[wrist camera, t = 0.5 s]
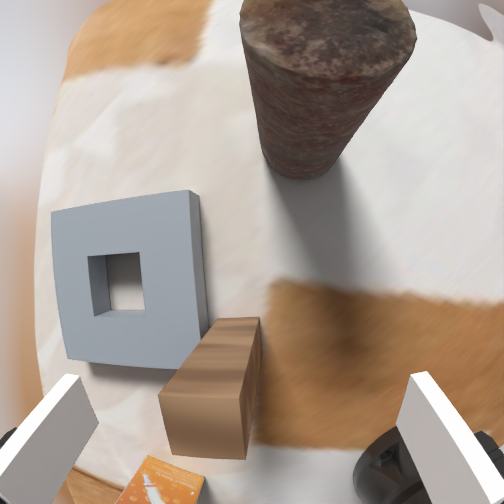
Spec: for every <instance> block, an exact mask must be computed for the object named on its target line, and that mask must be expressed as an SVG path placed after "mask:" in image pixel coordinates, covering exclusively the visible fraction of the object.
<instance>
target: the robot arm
mask: <svg viewBox="0 0 504 504" xmlns="http://www.w3.org/2000/svg"><path fill="white" fill-rule="evenodd" d="M98 424H99V422H98V420H97V418H96V415H95V413H94V411H93V408H92V406H91V404H90V401H89V399H88V396H87V394H86V391H85V389H84V386H83V384H82V381H81V378H80V376H76V375H71V374H65V375H64V376H63V377H62V379H61V380H60V381H59V382H58V383H57V384H56V385H55V386H54V387H53V388H52V390H51V391H50V392H49V393H48V394H47V395H46V396H45V397H44V399H43V400H42V401H41V402H40V403H39V404H38V406H37V407H36V408H35V409H34V410H33V411H32V412H31V413H30V415H29V416H28V417H27V418H26V419H25V421H24V422H23V423H22V424H21V425H20V426H19V427H18V428H16V427H15V428H13V429H12V430H11V431H9V432H7V433H6V434H5V435H4V436H3V437H2V438H1V440H0V504H52V502H53V500H54V498H55V496H56V495H57V493H58V491H59V490H60V488H61V486H62V484H63V483H64V481H65V479H66V477H67V476H68V474H69V472H70V470H71V469H72V467H73V465H74V464H75V462H76V460H77V459H78V457H79V455H80V454H81V452H82V450H83V449H84V447H85V445H86V444H87V442H88V440H89V439H90V437H91V435H92V434H93V432H94V430H95V429H96V427H97V425H98ZM498 448H499V447H498V445H497V444H496V443H495V441H494V440H493V439H492V437H490V436H489V435H487V434H486V433H484V432H483V431H480V432H477V433H475V434H473V433H472V432H471V430H470V429H469V427H468V426H467V425H466V423H465V422H464V420H463V419H462V418H461V416H460V415H459V413H458V412H457V411H456V409H455V408H454V407H453V405H452V404H451V402H450V401H449V400H448V398H447V397H446V396H445V394H444V393H443V392H442V390H441V389H440V388H439V386H438V385H437V384H436V383H435V381H434V380H433V379H432V377H431V376H430V375H429V373H428V372H427V371H425V372H420V373H415V374H410V378H409V382H408V386H407V389H406V393H405V396H404V399H403V403H402V406H401V409H400V412H399V415H398V418H397V421H396V427H394V428H392V429H391V430H389V431H387V432H386V433H385V434H383V435H382V436H380V437H379V438H378V439H377V440H376V441H374V442H373V443H372V444H371V445H370V446H369V447H368V448H367V449H366V451H365V452H364V453H363V454H362V456H361V457H360V459H359V460H358V462H357V464H356V466H355V469H354V473H353V481H354V485H355V488H356V492H357V494H358V496H359V497H360V499H361V500H362V501H363V502H364V503H365V504H504V454H503V452H502V451H501V450H500V449H498Z"/></svg>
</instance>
